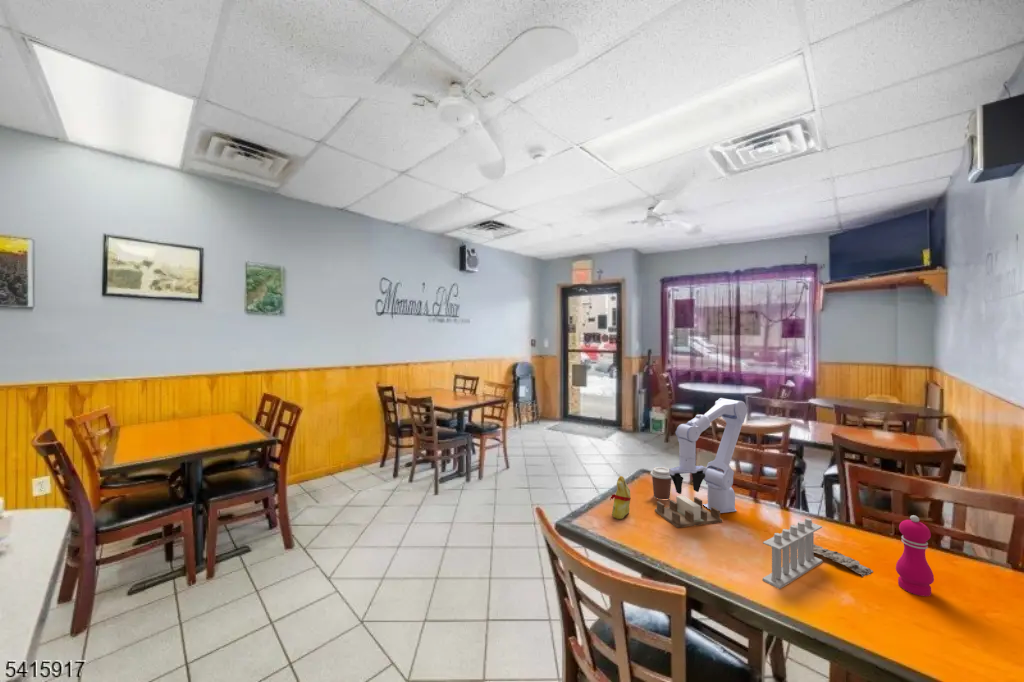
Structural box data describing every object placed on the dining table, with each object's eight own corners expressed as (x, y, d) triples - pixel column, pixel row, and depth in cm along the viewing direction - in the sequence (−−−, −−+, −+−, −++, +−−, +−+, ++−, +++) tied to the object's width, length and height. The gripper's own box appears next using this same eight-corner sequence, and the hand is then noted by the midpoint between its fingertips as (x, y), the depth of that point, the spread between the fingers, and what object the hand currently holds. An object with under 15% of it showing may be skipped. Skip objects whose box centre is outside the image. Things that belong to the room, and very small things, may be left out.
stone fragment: (868, 583, 111) (877, 570, 117) (868, 573, 111) (877, 561, 117) (767, 544, 131) (779, 534, 137) (767, 535, 131) (779, 526, 137)
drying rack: (696, 506, 159) (696, 496, 159) (722, 522, 146) (722, 511, 146) (654, 511, 155) (654, 501, 155) (677, 527, 141) (677, 516, 141)
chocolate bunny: (634, 511, 155) (633, 473, 155) (622, 521, 146) (622, 481, 146) (617, 507, 159) (617, 469, 159) (605, 516, 151) (605, 477, 150)
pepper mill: (938, 601, 102) (938, 524, 101) (900, 591, 105) (900, 517, 105) (928, 586, 108) (928, 513, 108) (892, 577, 112) (892, 507, 111)
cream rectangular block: (683, 508, 155) (683, 495, 155) (700, 519, 145) (700, 506, 145) (676, 508, 154) (676, 496, 154) (693, 520, 145) (693, 506, 145)
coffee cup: (652, 501, 164) (652, 472, 164) (648, 492, 173) (648, 465, 173) (675, 502, 163) (675, 473, 163) (670, 494, 172) (670, 466, 172)
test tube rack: (779, 589, 107) (779, 541, 107) (762, 580, 111) (762, 534, 111) (822, 562, 120) (822, 519, 119) (805, 555, 123) (805, 513, 123)
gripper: (677, 461, 145) (677, 497, 145) (711, 458, 148) (711, 494, 148) (665, 455, 151) (665, 490, 152) (698, 452, 155) (698, 487, 155)
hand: (687, 491), depth 150 cm, fingers open, 7 cm apart
